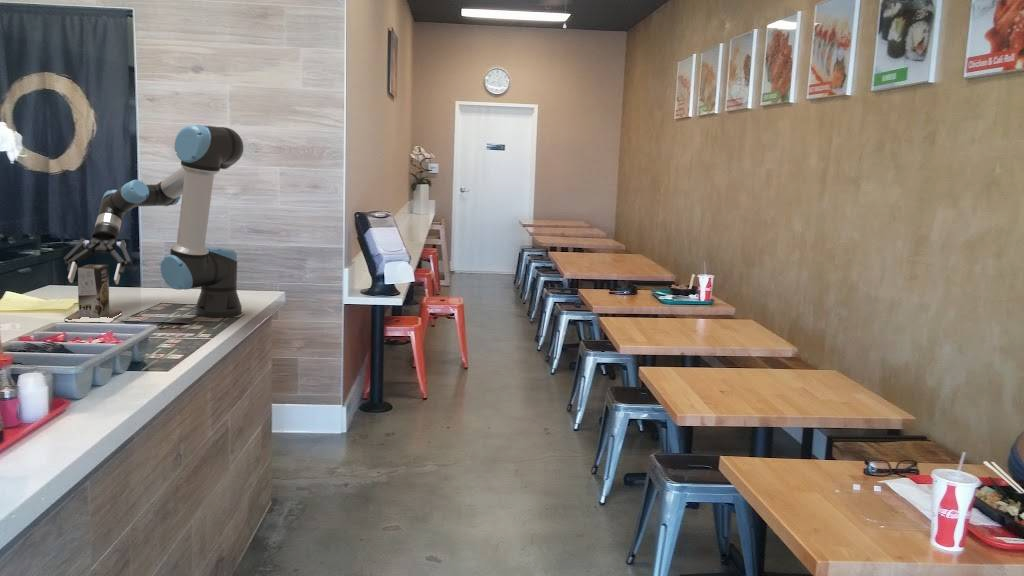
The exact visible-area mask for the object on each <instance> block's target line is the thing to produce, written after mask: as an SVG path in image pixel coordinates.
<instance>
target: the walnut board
mask: <svg viewBox="0 0 1024 576" xmlns="http://www.w3.org/2000/svg"><path fill="white" fill-rule="evenodd" d="M120 313H122V314H123V311H122V310H109V313H107V314H105V315H104V316H102V317H107V318H108V317H109V318H113V317H115V316H117V315H119V314H120ZM80 318H81V317H79V309H78V310H77V311H75V312H73V313H72V314H70V315H68V316H67V317H65V318H64V320H65V319H68V320H72V319H80Z"/></svg>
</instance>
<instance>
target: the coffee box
mask: <svg viewBox="0 0 1024 576" xmlns="http://www.w3.org/2000/svg"><path fill="white" fill-rule="evenodd" d="M109 267H110V265H109V264H102V263H101V264H91V263H90V264H85V265H82V266H80V267H77V291H78V292H77V293H78V295H77V296H78V297H77V298H78V301H77V302H78V310H79V317H89V318H100V317H102V316H104V315H105V314H107V313H109V311H110V276H109V274H110V273H109V270H110V269H109Z"/></svg>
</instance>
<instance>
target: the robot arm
mask: <svg viewBox="0 0 1024 576" xmlns="http://www.w3.org/2000/svg"><path fill="white" fill-rule="evenodd" d="M244 149H245V148H244V142H243V139H242V137H241V136H240V135H239V134H238V133H237V132H236V131H235V130H234V129H231V128H229V127H225V126H213V125H204V124H203V125H202V124H191V125H190V124H188V125H186V126H184V127H183V128H182V129H181V130H179V132H177V135H176V137H175V139H174V151H175V152H176V155H175V156H176V157H177V158H178V159H179V160H180V166H181V167H180V168H178V170H176V171H174V172H173V173H171V174H170V175H168V176H167V177H166V178H164V179H163V180H162V181H160V182H158V183H156V184H146V183H144V182H143V181H140V179H139V180H138V179H133V180H130V181H129V182H126V183H125V184H124V185H122V186H121V187H120V188H118V189H111V190H106V192H104V194H103V197H102V199H101V202H100V206H99V211H98V214H97V218H96V221H95V224H94V228H93V231H92V235H91V236H92V237H91V238H90V240H87V239H85V238H84V237H81V238H80V240H79V241H78V243H77V244H76V245H75V246H74V247H73V248H72V249H71V250H70V251H69V252H68V253H67V254H65V256H64V257H63V260H64V263H65V264H66V265H67V272H68V276H67V279H68V282H69V283H70V284H72V283H74V280H75V277H76V272H77V270H78V264H79V263H80V262H82V261H84V260H85V259H86V258H88V257H90V256H93V255H94V254H105V255H107V254H108V253H109V254H110V256H112V257H113V258H114V259H115V260H116V262H117V265H116V269H115V273H114V277H113V280H114V281H113V282H114V283H115V285H119V283H120V279H121V276H123V275H124V274H125V271H126V268H127V267H132V266H133V263H132V260H131V258H130V255H129V253H128V251H127V242H126V240H124V239H122V240H120V241H118V239H119V235H120V230H121V225H122V222H123V218H124V215H125V214H126V213H128V212H130V211H131V210H132V209H134V208H136V207H169V206H174V205H178V203H179V201H180V199H181V204H180V211H179V212H180V213H179V220H178V228H177V229H178V230H177V238H176V242H175V243H173V244H172V245H171V246H170V252H169V253H170V254H168V255H165V256H164V258H162V260H161V261H160V274H161V277H162V279H163V280H164V282H165V283H166V285H167V286H169V287H170V288H171V289H173V290H178V291H179V290H181V291H182V290H191V289H194V288H195V289H196V288H200V294H199V296H198V299H197V302H196V305H195V314H196V315H198V316H201V317H209V318H229V316H230V317H235V316H240V315H241V314H242V312H243V309H242V308H243V307H242V303H241V301H240V298H239V295H238V292H237V291H238V290H237V289H238V288H237V287H238V285H237V283H238V282H237V281H238V262H239V261H238V255H237V252H236V251H235V249H234V250H233V249H229V248H224V247H223V248H222V247H213V246H206V238H207V230H208V222H209V215H210V208H211V201H212V193H213V185H214V177H215V175H216V174H217V173H219V172H220V170H227V169H228V168H230V167H232V166H233V165H235V164H236V163H237V162H238V161H239V160H240V159H241V158H242V155H243V154H244ZM117 247H119V249H121V251H122V253H123V256H124V258H125V260H124V259H123V258H122V257H121V255H120V254H119V253H118V252H117V251H116V249H115V248H117Z"/></svg>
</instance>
